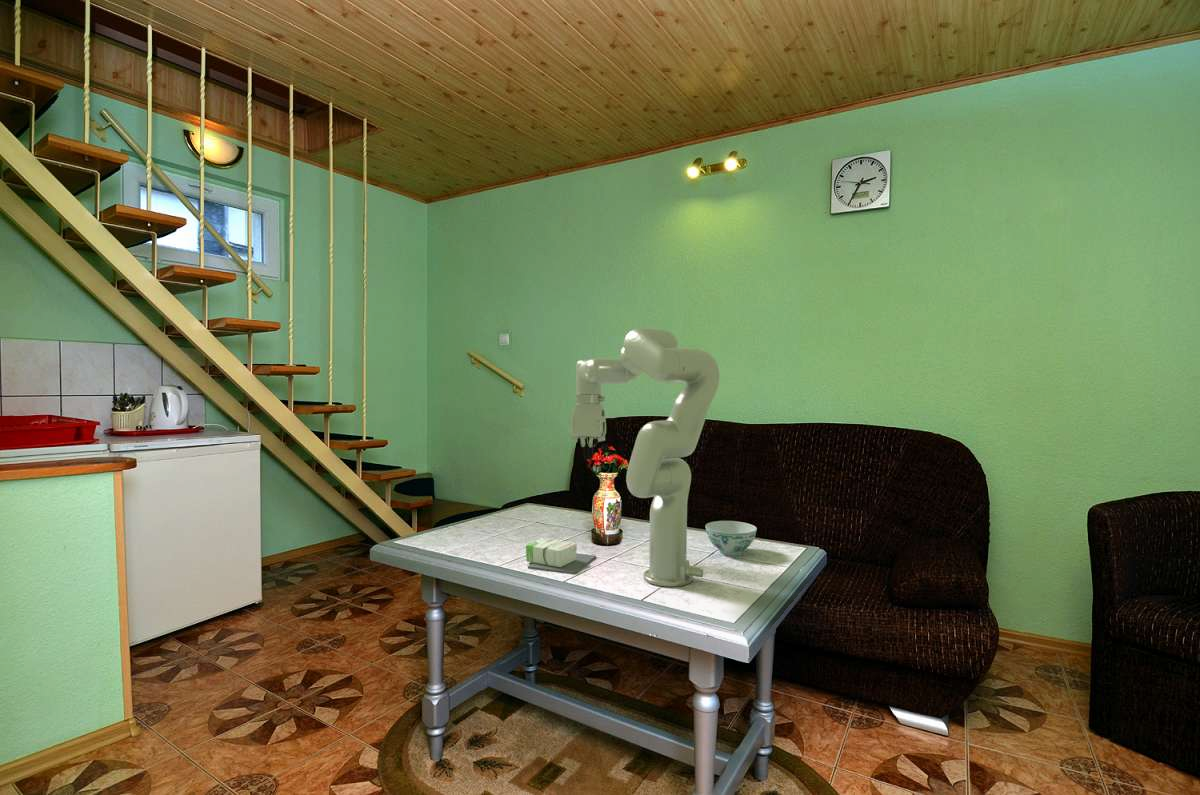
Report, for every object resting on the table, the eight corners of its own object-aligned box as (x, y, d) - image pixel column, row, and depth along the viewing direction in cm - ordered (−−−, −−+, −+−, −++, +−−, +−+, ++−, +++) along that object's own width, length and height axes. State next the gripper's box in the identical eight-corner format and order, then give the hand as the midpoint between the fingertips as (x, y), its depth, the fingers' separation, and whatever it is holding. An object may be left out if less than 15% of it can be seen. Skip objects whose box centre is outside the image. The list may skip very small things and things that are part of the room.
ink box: (525, 562, 164) (560, 568, 158) (525, 544, 164) (560, 550, 158) (543, 554, 172) (577, 560, 166) (543, 537, 172) (577, 542, 166)
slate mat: (596, 557, 170) (596, 555, 170) (574, 574, 155) (574, 572, 155) (552, 552, 175) (552, 550, 175) (527, 568, 160) (527, 566, 160)
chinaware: (711, 560, 168) (711, 533, 168) (700, 545, 183) (700, 521, 183) (763, 559, 168) (763, 533, 168) (748, 545, 183) (748, 520, 183)
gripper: (615, 400, 181) (615, 459, 181) (570, 399, 186) (570, 457, 186) (607, 400, 174) (607, 462, 174) (561, 400, 179) (561, 460, 179)
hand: (588, 459), depth 180 cm, fingers closed
